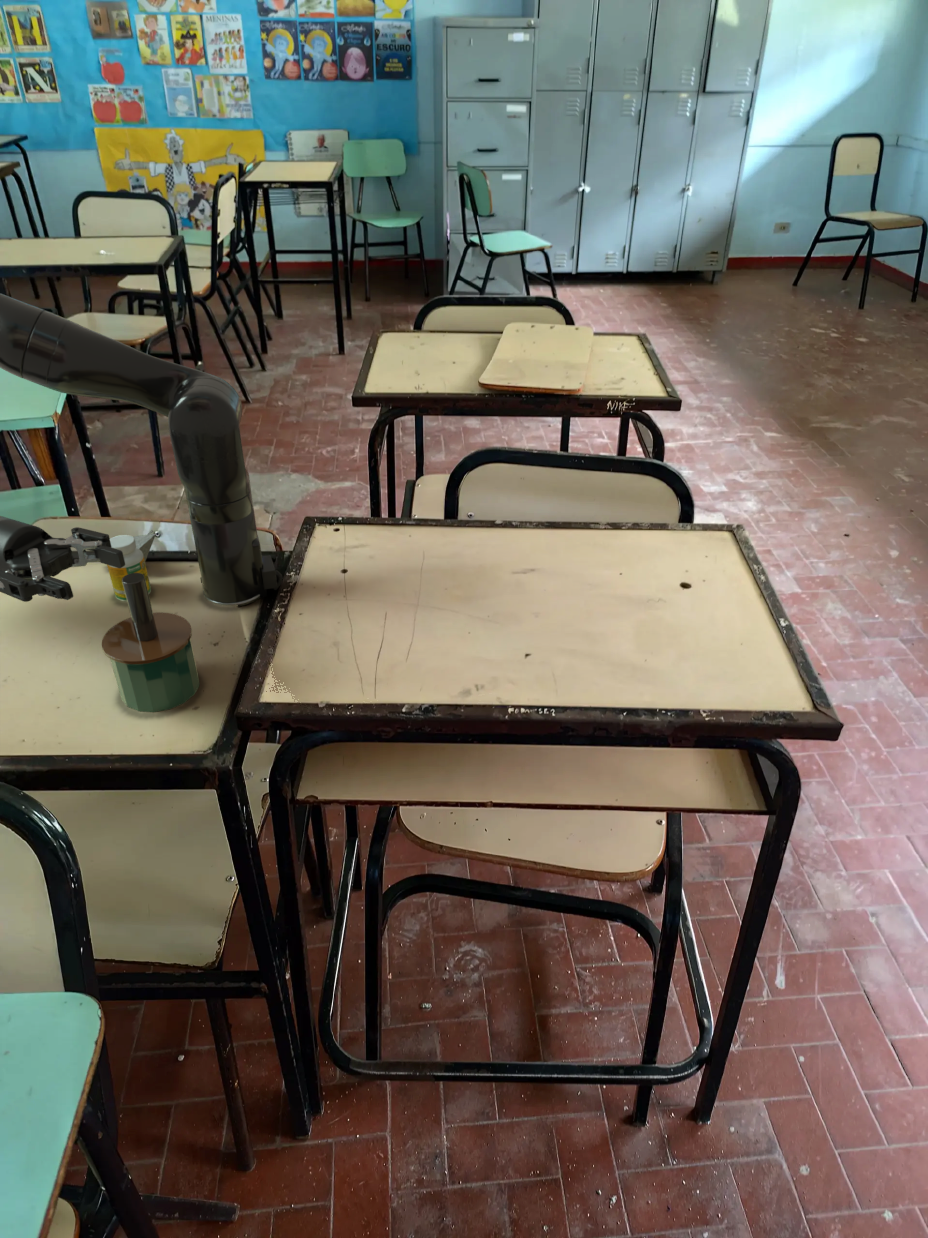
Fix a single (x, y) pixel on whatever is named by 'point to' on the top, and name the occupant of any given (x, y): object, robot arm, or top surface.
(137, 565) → the supplement bottle
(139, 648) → the lid
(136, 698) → the canister
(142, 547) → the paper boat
